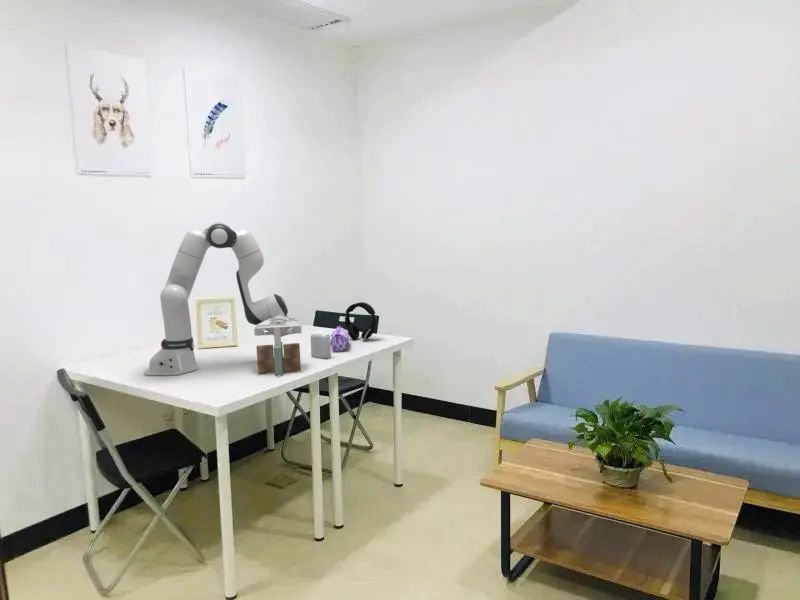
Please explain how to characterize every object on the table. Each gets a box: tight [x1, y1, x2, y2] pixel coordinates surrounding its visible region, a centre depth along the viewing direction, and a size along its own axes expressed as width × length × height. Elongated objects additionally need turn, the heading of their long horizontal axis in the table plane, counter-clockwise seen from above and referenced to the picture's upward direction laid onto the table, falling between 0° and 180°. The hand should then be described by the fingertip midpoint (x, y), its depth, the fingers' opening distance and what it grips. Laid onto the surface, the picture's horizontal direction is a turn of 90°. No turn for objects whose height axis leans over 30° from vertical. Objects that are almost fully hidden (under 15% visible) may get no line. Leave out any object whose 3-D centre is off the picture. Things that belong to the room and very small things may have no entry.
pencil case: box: [330, 325, 350, 353], centre depth 310 cm, size 22×9×10 cm, turn 5°
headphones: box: [344, 301, 377, 341], centre depth 325 cm, size 18×8×20 cm, turn 61°
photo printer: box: [310, 330, 332, 359], centre depth 291 cm, size 10×4×12 cm, turn 56°
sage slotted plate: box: [273, 326, 284, 377], centre depth 266 cm, size 3×12×20 cm, turn 8°
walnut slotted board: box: [256, 342, 302, 375], centre depth 266 cm, size 18×2×12 cm, turn 98°
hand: (277, 332), depth 263 cm, fingers open, 8 cm apart
